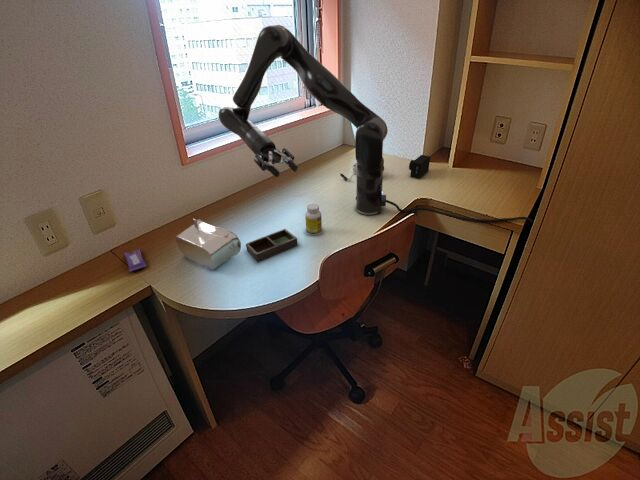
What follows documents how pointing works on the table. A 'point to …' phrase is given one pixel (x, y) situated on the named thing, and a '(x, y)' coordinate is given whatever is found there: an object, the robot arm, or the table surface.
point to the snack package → (134, 260)
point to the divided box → (271, 245)
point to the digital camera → (419, 166)
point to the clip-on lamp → (353, 171)
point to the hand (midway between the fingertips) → (287, 172)
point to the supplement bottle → (313, 220)
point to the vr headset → (208, 244)
